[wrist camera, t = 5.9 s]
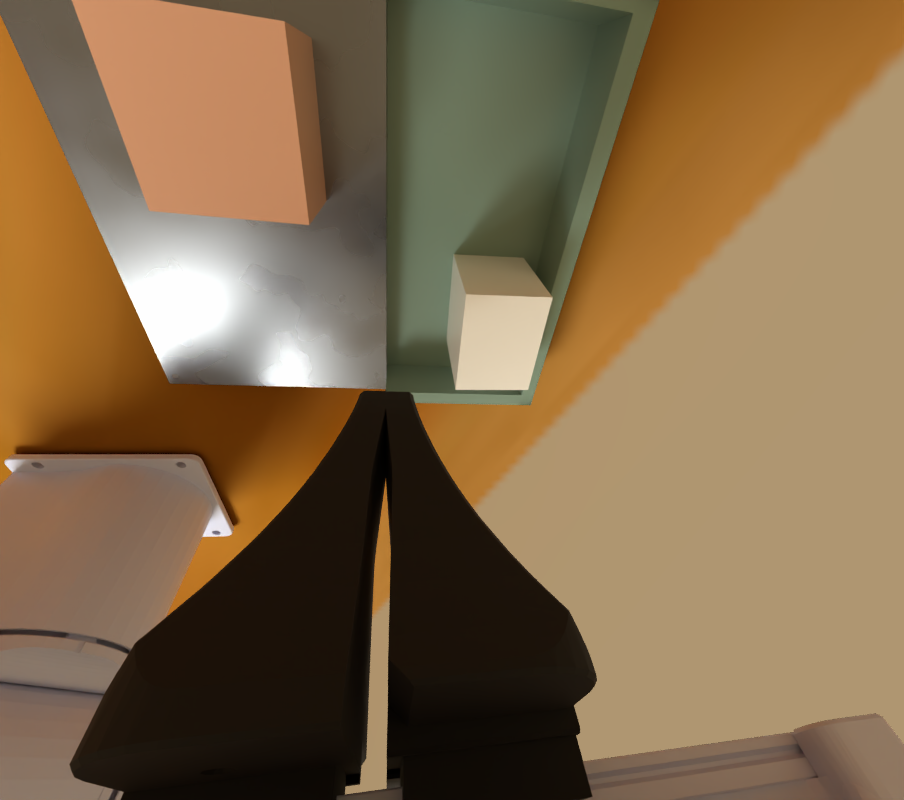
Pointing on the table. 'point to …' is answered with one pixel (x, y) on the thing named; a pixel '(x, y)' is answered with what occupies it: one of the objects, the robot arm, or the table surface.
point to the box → (494, 156)
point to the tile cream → (495, 322)
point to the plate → (239, 240)
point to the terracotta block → (211, 108)
